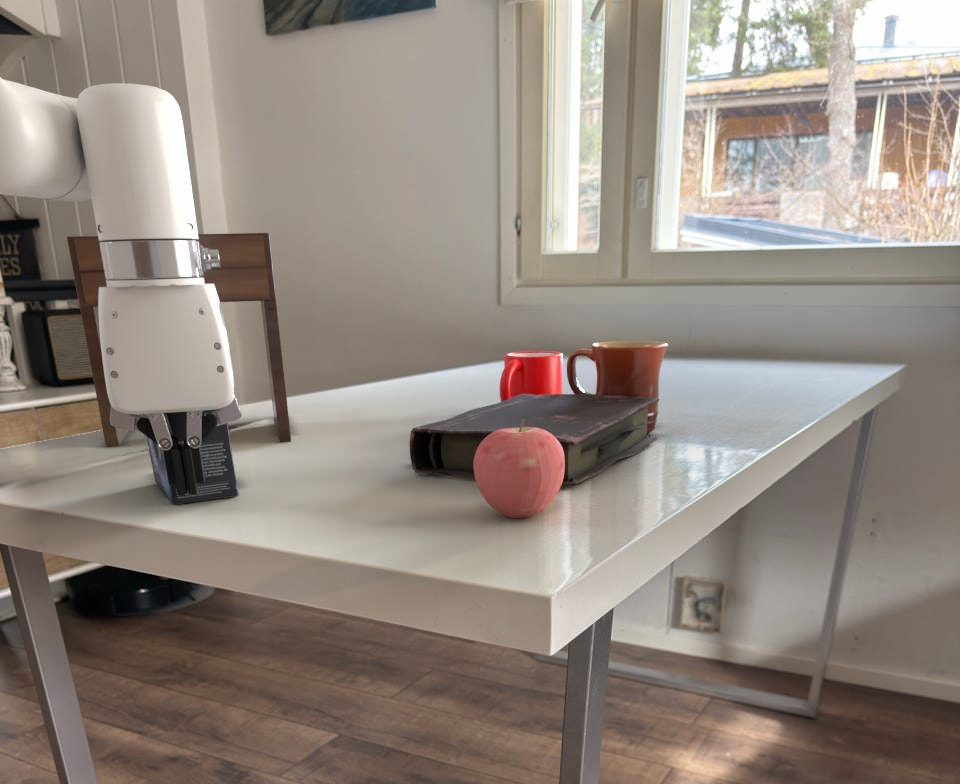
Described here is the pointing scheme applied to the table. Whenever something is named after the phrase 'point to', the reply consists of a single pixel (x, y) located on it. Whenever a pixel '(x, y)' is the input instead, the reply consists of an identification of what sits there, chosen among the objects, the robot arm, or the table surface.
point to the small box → (213, 457)
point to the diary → (568, 417)
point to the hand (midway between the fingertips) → (188, 491)
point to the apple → (519, 470)
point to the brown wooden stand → (234, 280)
